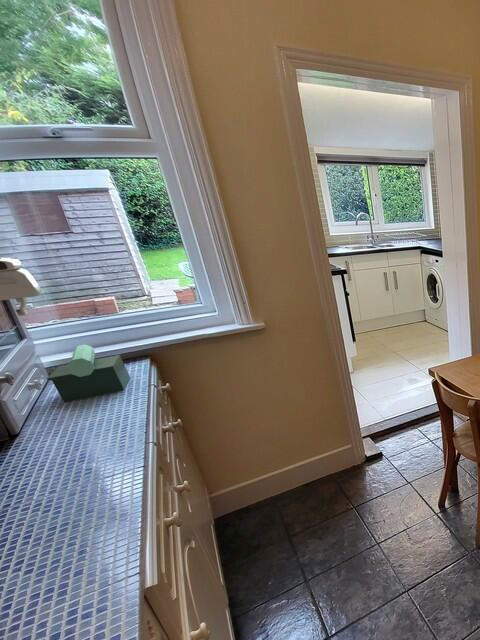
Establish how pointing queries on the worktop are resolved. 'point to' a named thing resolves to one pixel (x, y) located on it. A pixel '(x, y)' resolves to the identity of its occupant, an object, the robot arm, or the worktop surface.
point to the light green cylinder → (82, 361)
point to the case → (93, 383)
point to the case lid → (99, 366)
